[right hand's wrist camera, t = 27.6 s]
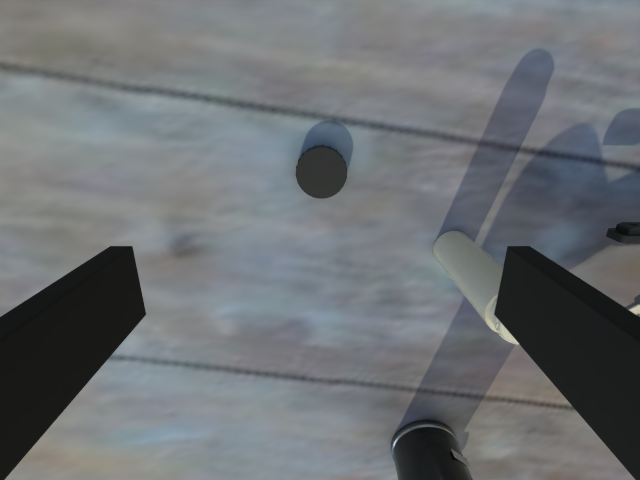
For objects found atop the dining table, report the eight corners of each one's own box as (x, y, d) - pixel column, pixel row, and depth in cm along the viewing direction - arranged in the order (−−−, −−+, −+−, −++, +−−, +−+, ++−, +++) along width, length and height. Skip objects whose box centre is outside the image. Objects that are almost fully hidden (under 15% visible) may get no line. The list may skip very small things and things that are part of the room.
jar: (425, 248, 40) (483, 325, 26) (454, 222, 39) (533, 287, 24) (448, 272, 41) (517, 358, 27) (478, 247, 40) (566, 323, 26)
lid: (356, 164, 36) (358, 167, 35) (326, 204, 38) (327, 208, 36) (315, 134, 35) (315, 135, 34) (287, 176, 37) (285, 179, 35)
